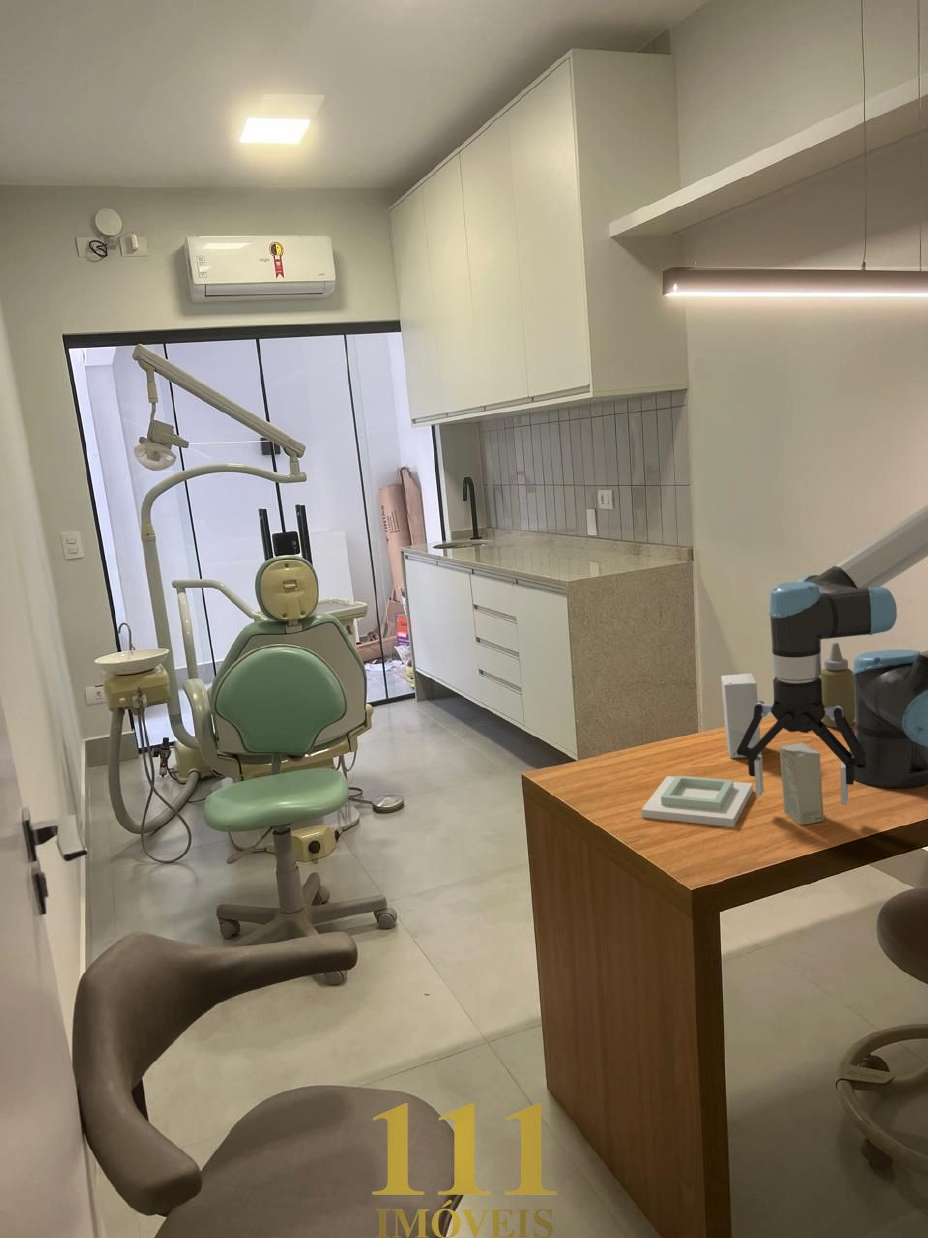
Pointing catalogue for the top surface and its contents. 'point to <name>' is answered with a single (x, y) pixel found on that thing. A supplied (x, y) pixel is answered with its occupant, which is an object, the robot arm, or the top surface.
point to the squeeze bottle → (837, 686)
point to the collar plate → (698, 800)
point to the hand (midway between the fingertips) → (801, 798)
